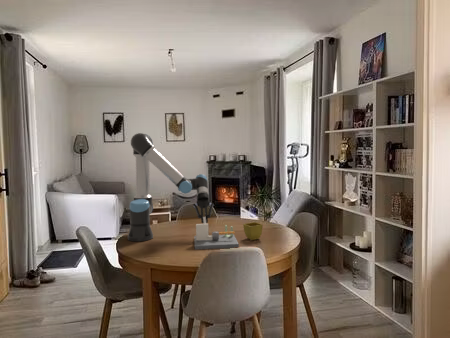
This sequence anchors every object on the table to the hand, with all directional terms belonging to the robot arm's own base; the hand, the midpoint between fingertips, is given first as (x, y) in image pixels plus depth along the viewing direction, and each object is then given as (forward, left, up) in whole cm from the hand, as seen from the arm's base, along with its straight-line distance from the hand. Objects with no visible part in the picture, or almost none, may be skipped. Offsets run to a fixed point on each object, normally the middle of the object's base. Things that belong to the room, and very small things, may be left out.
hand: (205, 227), depth 213 cm
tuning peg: (+6, -8, -5) cm, 11 cm away
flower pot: (+29, -1, -8) cm, 30 cm away
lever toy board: (+6, -8, -8) cm, 12 cm away
